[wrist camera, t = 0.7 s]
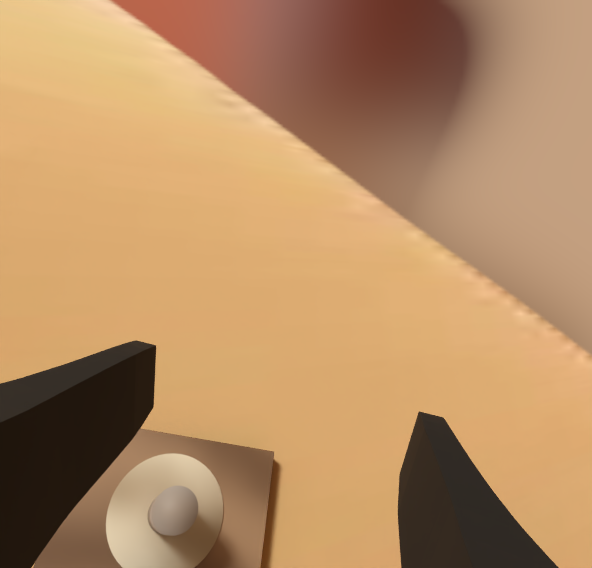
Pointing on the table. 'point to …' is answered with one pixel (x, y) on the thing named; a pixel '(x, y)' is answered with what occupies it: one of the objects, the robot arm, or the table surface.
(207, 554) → the board
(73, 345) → the table surface
